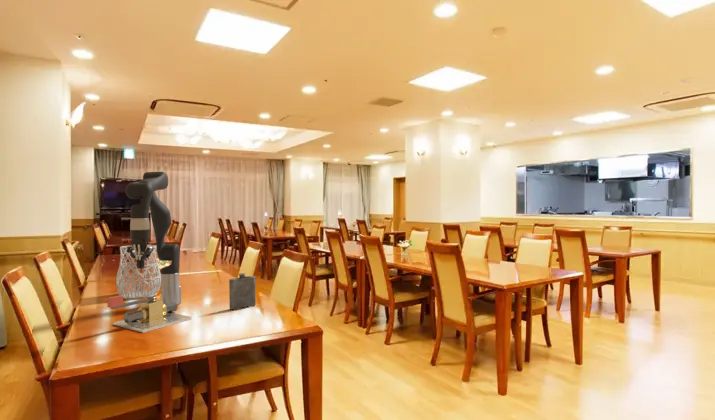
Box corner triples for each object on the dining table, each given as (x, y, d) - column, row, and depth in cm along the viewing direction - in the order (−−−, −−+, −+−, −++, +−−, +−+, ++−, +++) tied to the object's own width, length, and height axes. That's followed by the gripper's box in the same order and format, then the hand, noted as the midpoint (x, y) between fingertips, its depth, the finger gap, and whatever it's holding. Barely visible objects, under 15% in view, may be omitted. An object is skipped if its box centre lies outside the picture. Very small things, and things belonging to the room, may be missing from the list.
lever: (152, 299, 198) (152, 288, 198) (157, 300, 196) (157, 289, 196) (107, 309, 179) (107, 297, 179) (112, 310, 177) (111, 298, 177)
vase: (127, 291, 265) (126, 244, 264) (166, 290, 267) (166, 243, 267) (108, 300, 241) (107, 248, 240) (152, 299, 243) (151, 247, 243)
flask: (228, 308, 219) (227, 274, 219) (253, 304, 228) (253, 271, 228) (230, 310, 216) (230, 275, 216) (256, 305, 225) (256, 272, 225)
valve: (162, 313, 211) (161, 294, 211) (191, 319, 199) (191, 299, 199) (113, 324, 190) (113, 303, 190) (143, 332, 178) (142, 310, 178)
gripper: (158, 228, 183) (159, 267, 184) (135, 228, 188) (136, 266, 188) (144, 229, 176) (145, 270, 176) (121, 229, 181) (121, 268, 181)
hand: (140, 268), depth 182 cm, fingers closed
